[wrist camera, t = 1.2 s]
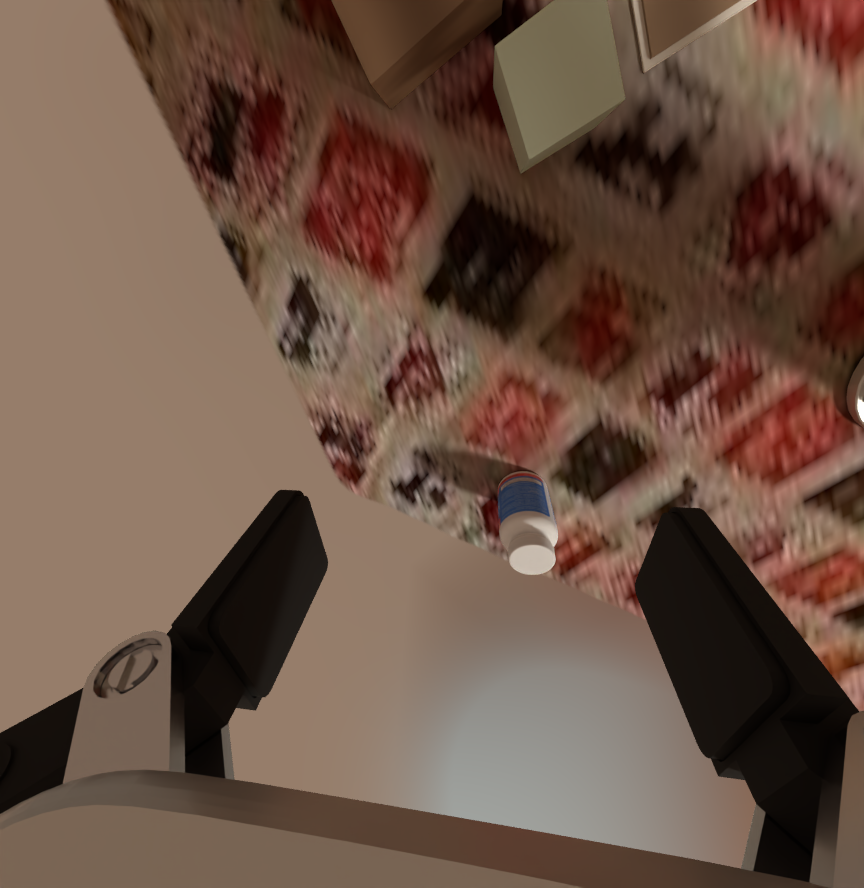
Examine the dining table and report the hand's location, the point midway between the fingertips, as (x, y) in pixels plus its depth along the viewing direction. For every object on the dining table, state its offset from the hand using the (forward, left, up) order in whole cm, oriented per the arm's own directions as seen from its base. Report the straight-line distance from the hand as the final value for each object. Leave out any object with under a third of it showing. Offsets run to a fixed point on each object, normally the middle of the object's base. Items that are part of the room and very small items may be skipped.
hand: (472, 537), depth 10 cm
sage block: (-9, -11, -24) cm, 28 cm away
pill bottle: (+3, +18, -25) cm, 31 cm away
